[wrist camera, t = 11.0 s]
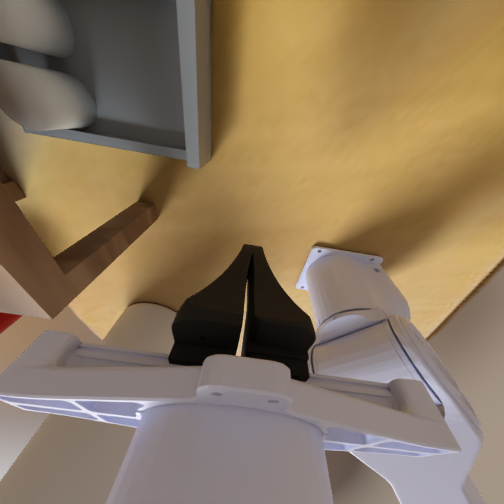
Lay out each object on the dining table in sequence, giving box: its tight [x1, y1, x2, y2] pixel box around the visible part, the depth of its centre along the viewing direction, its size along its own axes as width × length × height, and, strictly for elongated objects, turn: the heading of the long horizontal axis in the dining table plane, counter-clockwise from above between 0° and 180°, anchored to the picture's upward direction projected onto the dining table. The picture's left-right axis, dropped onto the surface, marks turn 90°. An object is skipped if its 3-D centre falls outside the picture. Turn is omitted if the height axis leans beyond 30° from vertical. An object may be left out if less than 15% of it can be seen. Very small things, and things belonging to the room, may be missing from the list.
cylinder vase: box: [0, 303, 177, 504], centre depth 27 cm, size 12×12×25 cm
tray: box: [0, 0, 212, 169], centre depth 13 cm, size 16×10×5 cm, turn 82°
